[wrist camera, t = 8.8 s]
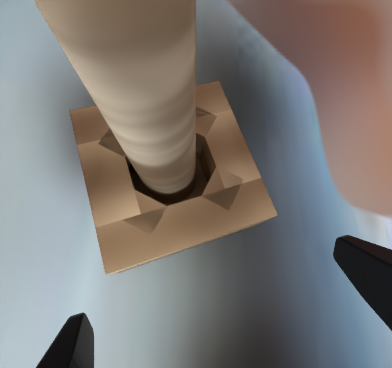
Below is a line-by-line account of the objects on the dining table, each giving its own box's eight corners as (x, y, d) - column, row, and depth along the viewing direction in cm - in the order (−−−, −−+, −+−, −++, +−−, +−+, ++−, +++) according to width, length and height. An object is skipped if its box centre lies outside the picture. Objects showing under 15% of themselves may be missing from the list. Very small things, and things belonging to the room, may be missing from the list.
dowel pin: (187, 208, 18) (167, 54, 5) (137, 195, 19) (1, 18, 6) (201, 162, 20) (212, -56, 7) (154, 150, 20) (75, -79, 7)
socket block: (256, 225, 20) (277, 215, 16) (118, 272, 17) (105, 274, 14) (210, 111, 23) (218, 80, 19) (87, 139, 20) (69, 110, 17)
